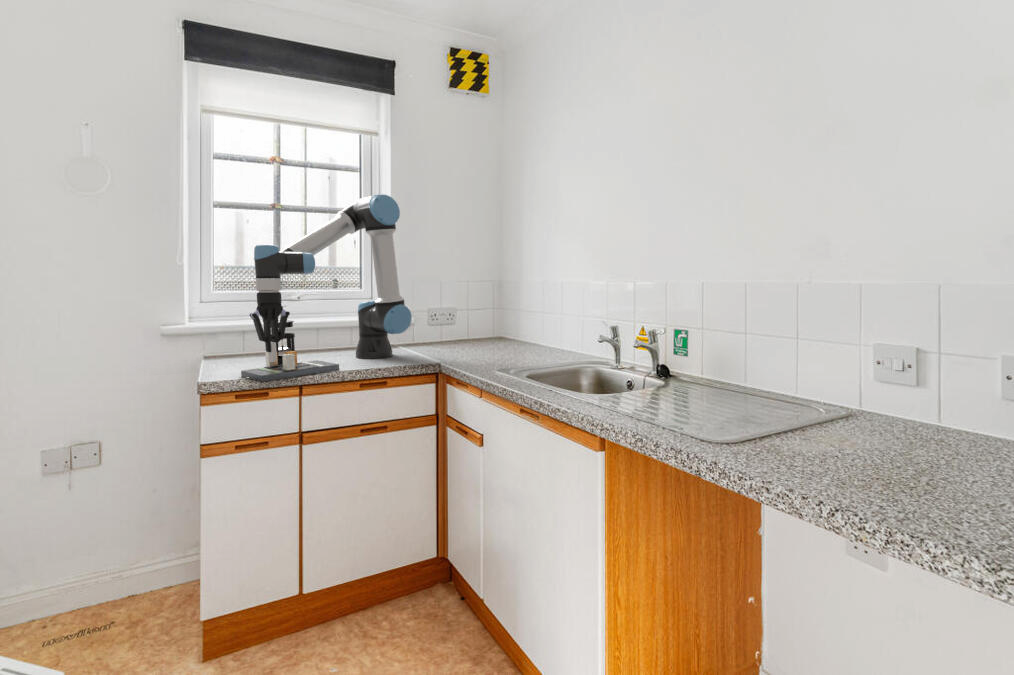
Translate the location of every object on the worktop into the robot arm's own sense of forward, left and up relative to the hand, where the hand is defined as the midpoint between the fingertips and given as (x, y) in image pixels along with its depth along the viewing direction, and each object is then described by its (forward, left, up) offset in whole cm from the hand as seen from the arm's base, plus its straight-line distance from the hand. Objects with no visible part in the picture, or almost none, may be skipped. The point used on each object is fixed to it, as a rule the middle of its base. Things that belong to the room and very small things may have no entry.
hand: (272, 361), depth 179 cm
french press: (-13, -18, -5) cm, 23 cm away
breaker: (-7, 0, -3) cm, 7 cm away
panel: (-7, 0, -5) cm, 8 cm away
